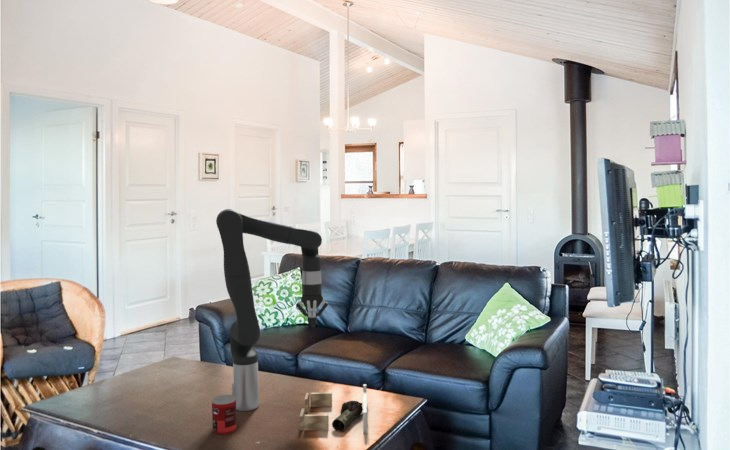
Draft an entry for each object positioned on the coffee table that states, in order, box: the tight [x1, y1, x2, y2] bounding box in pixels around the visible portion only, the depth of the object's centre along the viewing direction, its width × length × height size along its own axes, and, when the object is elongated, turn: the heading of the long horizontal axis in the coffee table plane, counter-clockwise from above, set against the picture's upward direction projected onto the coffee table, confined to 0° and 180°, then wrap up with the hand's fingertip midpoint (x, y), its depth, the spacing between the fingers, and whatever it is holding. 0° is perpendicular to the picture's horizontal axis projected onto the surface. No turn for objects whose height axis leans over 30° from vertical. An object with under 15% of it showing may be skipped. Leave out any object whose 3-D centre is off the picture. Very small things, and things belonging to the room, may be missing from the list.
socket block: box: [299, 391, 333, 431], centre depth 197 cm, size 10×22×5 cm, turn 0°
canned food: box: [211, 394, 237, 436], centre depth 187 cm, size 8×8×11 cm
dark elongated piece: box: [331, 400, 363, 432], centre depth 193 cm, size 18×7×6 cm, turn 157°
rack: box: [362, 383, 368, 434], centre depth 197 cm, size 1×28×7 cm, turn 0°
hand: (312, 326), depth 213 cm, fingers closed
